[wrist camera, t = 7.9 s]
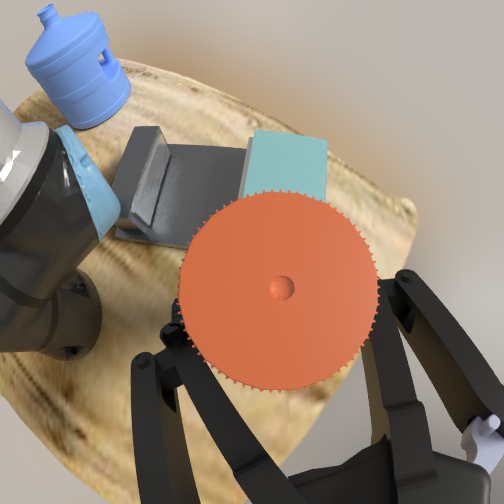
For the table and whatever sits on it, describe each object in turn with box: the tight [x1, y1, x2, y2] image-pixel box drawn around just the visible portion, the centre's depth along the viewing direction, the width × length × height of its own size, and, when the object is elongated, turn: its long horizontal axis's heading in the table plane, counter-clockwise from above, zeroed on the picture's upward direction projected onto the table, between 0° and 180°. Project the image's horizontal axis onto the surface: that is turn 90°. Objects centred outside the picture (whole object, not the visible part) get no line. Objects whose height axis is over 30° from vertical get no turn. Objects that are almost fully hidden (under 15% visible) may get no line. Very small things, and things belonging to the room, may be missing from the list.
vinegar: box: [176, 189, 380, 393], centre depth 16 cm, size 7×7×20 cm
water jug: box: [25, 4, 131, 129], centre depth 33 cm, size 16×16×28 cm
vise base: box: [111, 126, 247, 250], centre depth 36 cm, size 28×16×8 cm, turn 82°
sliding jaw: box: [238, 130, 327, 203], centre depth 35 cm, size 10×14×6 cm
